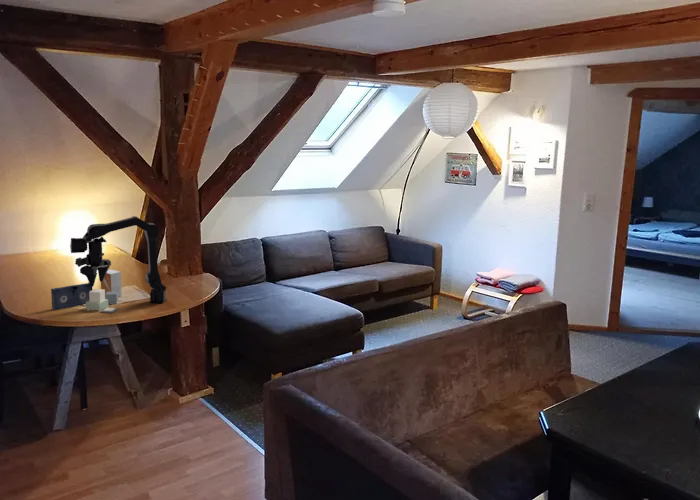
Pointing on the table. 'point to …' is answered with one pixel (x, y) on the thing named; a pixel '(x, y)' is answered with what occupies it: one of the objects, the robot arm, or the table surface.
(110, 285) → the small box
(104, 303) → the sage block
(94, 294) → the cream cube
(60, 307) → the vhs cassette tape
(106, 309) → the swatch
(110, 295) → the slate cube
